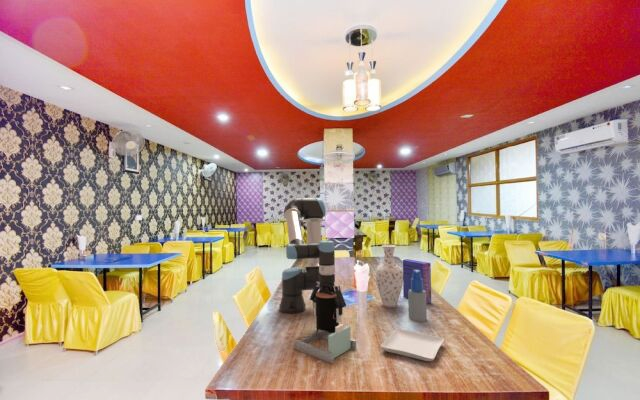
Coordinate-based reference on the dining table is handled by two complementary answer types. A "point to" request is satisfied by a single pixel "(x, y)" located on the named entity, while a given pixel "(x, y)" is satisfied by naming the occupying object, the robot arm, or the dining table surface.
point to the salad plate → (413, 344)
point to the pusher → (339, 340)
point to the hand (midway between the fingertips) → (327, 318)
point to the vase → (389, 278)
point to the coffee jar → (326, 312)
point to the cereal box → (425, 275)
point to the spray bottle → (417, 298)
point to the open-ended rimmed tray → (314, 351)
